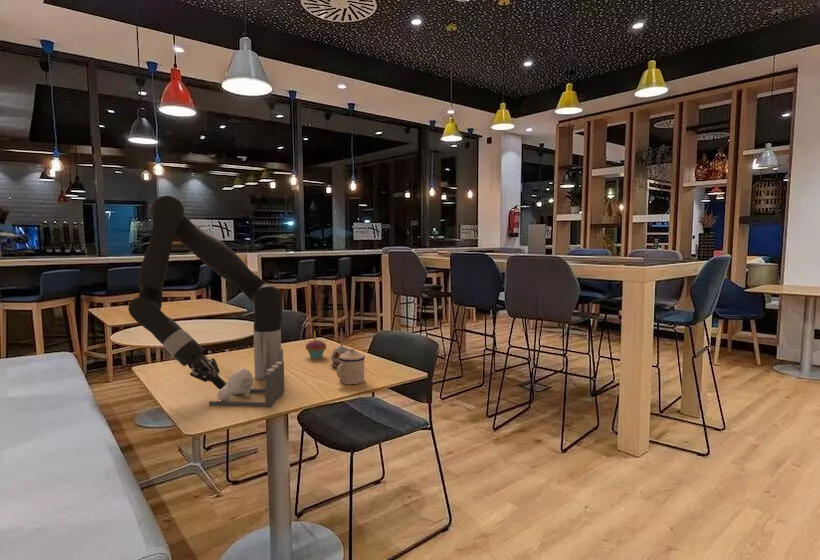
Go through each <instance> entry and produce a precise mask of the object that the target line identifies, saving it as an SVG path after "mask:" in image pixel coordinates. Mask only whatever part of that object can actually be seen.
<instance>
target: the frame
mask: <svg viewBox="0 0 820 560" xmlns="http://www.w3.org/2000/svg"><path fill="white" fill-rule="evenodd" d="M271 368H272V369H267V373H266V374H265V380H264V388H261V387H260V388H255V387H254V388H253V387H251V391H250V393H249V394H264V395H265V396H264V399H265V400H264V401H251V400H250V401H244V400H243V401H242V400H241V401H239V400H238V401H237V400H229V401H221V400H210V401H209V402H208V404H209V405H208V406H209V407H242V406H245V408H246V407H248V408H249V407H253V408H255V407H256V408H257V407H258V408H262V407H263V408H267V409H269V408H272V407H273V405H274V404H276V402H277V401H278V400H279V399H280V397H281V396H283V394H284V393H285V362H284V361H283V362H275V365H272V366H271Z"/></svg>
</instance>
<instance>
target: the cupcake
mask: <svg viewBox="0 0 820 560" xmlns="http://www.w3.org/2000/svg"><path fill="white" fill-rule="evenodd" d="M326 349H327V344H326V342H323V341H322V340H317V339H316V331H315V329H314V330H313V340H311V341H309V342H307V344H305V350H306V351H307V352H308V355H309V356H310V358H311V359H313V358H318V359H322V358H321V357H323V356H324V352H325V350H326Z"/></svg>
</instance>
